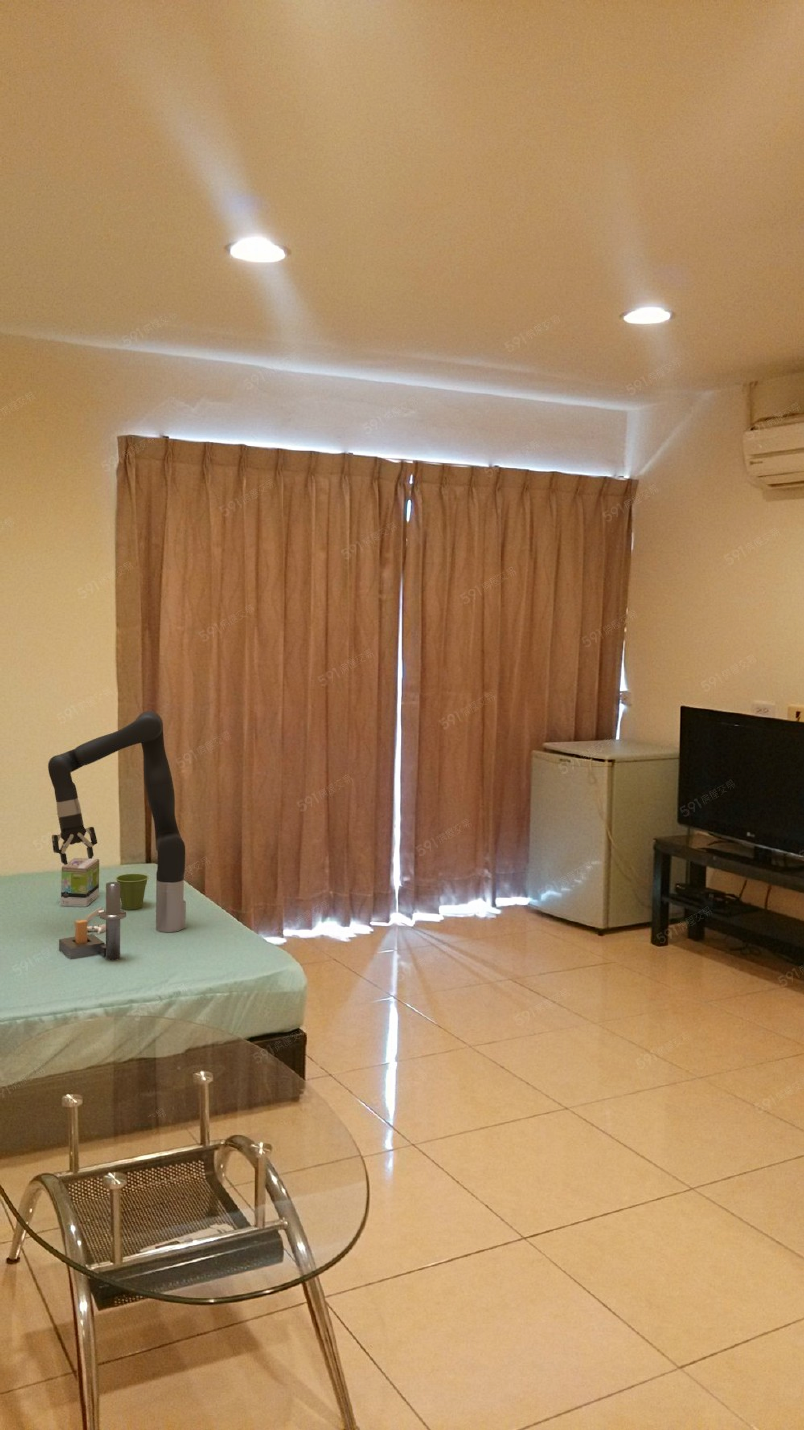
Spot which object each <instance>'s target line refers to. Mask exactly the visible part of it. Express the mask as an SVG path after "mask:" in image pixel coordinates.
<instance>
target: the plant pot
mask: <svg viewBox="0 0 804 1430" xmlns="http://www.w3.org/2000/svg"><path fill="white" fill-rule="evenodd" d="M149 878H150V877H149V875H147V874H144V873H143V874H142V873H124V874H120V875H118V876H116V877H115V881H116V882H119V883H120V905H121V908H122V909H124V910H126V911H127V910H128V911H129V910H139V909H141V908H143V905H144V898H145V893H146V887H147V883H148V879H149Z"/></svg>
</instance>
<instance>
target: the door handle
mask: <svg viewBox="0 0 804 1430" xmlns="http://www.w3.org/2000/svg"><path fill="white" fill-rule="evenodd" d="M103 911H106V909H104V908H103V907H99V908H96V909H95V910H94V911H92V912H91V913H90V914H89V915H88V916H86V918H85V919H84V920H86V921H87V924H88V923H89V922H90V921H91V920H92V919H95V917H100V913H101V912H103ZM87 932H94V933H95V932H97V935H99V934H100V935H101V933H104V932H106V923H104V924H102V923H101V924H100V925H94V926H93V925H89V926H88V925H87Z"/></svg>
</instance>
